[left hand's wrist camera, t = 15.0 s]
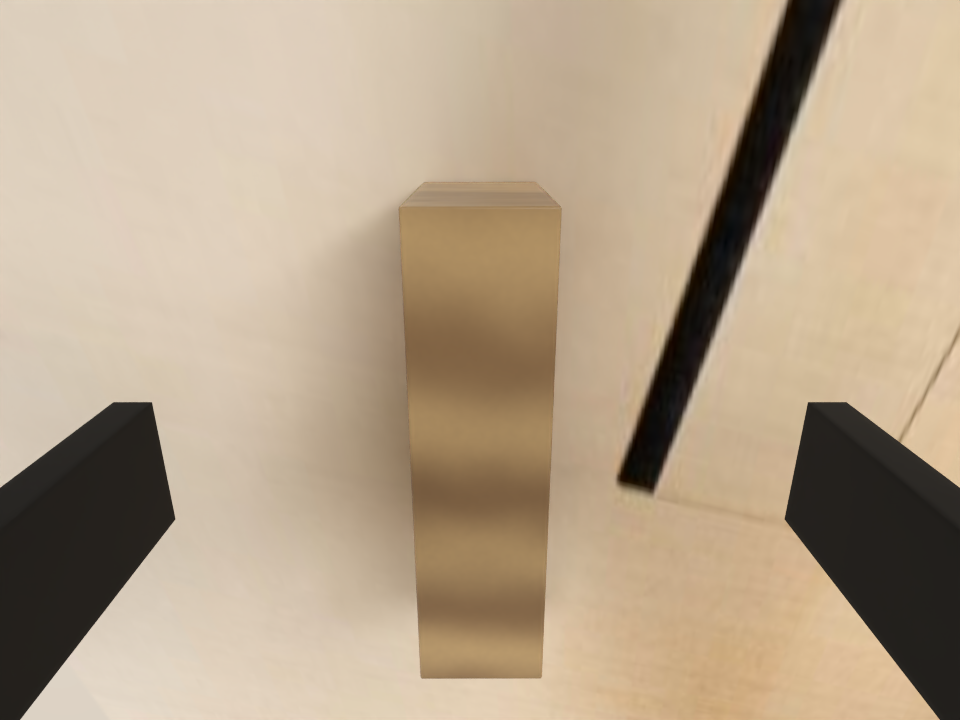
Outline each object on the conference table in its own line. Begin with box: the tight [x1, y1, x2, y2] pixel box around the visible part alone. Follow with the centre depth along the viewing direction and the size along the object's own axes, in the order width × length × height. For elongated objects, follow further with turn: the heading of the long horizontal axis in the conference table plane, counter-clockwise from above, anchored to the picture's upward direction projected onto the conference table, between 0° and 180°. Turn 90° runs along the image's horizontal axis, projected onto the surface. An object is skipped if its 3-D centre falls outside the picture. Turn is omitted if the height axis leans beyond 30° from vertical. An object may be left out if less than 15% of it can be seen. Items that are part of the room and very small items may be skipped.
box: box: [399, 182, 561, 679], centre depth 31 cm, size 22×6×10 cm, turn 0°
